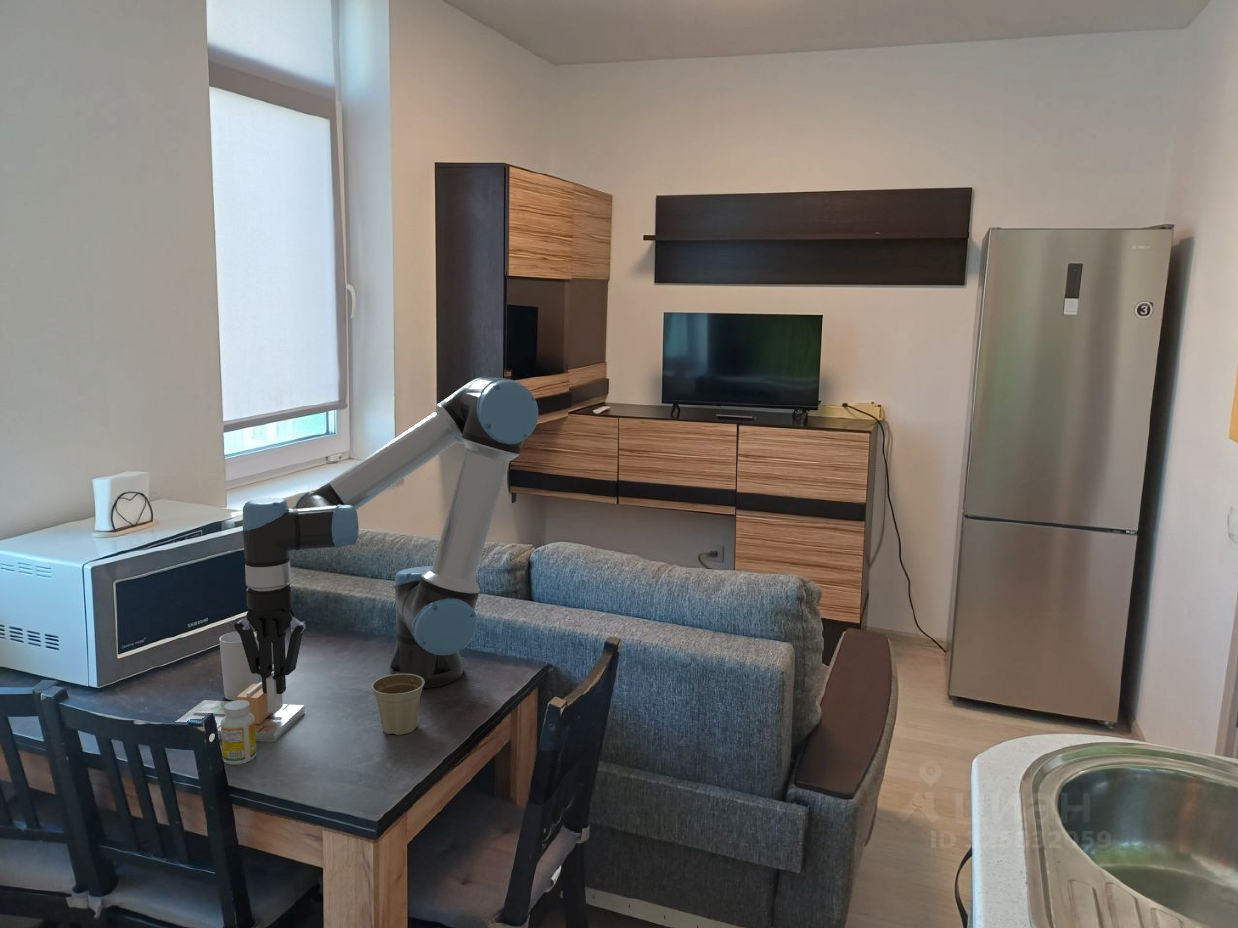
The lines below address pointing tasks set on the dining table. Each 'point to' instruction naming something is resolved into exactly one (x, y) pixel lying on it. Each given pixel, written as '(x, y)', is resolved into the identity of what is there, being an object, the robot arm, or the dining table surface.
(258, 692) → the cardboard box
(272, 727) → the console
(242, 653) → the mug
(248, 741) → the supplement bottle
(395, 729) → the flower pot
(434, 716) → the dining table surface
